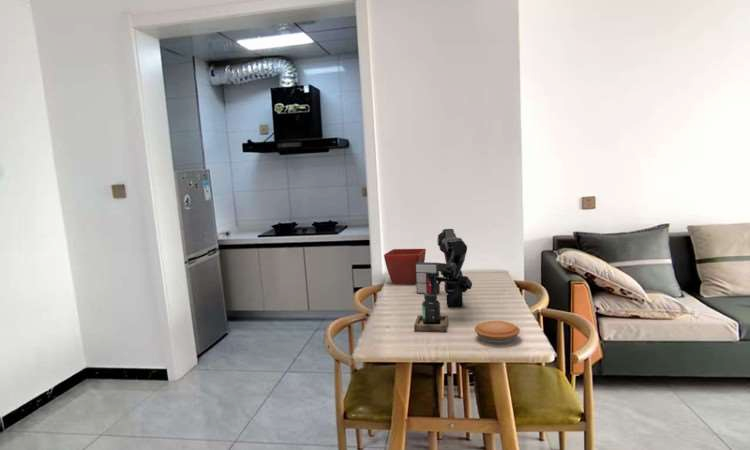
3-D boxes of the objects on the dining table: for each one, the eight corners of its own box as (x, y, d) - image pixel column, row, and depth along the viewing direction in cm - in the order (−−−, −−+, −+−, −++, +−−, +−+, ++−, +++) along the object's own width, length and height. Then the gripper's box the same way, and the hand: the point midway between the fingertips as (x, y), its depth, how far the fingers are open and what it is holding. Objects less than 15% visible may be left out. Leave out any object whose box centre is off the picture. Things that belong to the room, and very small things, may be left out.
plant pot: (394, 277, 268) (393, 248, 266) (427, 278, 262) (426, 248, 260) (385, 285, 250) (383, 254, 248) (420, 286, 244) (418, 254, 242)
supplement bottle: (422, 327, 178) (421, 296, 177) (423, 321, 185) (421, 292, 184) (440, 327, 177) (439, 296, 176) (440, 321, 184) (439, 291, 183)
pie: (493, 350, 154) (492, 335, 154) (466, 336, 169) (465, 323, 168) (530, 341, 160) (529, 327, 160) (501, 328, 175) (500, 315, 174)
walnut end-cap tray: (448, 321, 186) (448, 315, 185) (446, 331, 174) (446, 325, 174) (418, 321, 188) (417, 315, 188) (414, 331, 177) (414, 325, 176)
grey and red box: (416, 293, 230) (414, 263, 228) (418, 291, 234) (417, 262, 232) (438, 294, 226) (436, 264, 224) (440, 292, 230) (438, 262, 228)
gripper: (427, 253, 194) (413, 285, 187) (467, 256, 182) (454, 290, 175) (438, 268, 201) (425, 299, 194) (477, 272, 189) (465, 305, 182)
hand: (441, 298), depth 186 cm, fingers open, 9 cm apart
